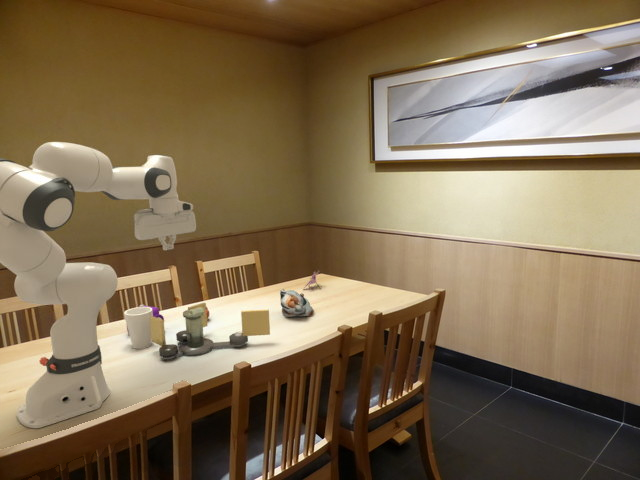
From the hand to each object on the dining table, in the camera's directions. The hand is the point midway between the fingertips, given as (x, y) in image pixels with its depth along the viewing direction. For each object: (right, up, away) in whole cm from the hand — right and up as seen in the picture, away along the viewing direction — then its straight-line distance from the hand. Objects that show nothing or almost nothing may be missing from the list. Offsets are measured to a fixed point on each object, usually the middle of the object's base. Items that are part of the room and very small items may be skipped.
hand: (168, 249), depth 148 cm
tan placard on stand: (+24, -33, +15) cm, 43 cm away
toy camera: (-18, -33, +30) cm, 48 cm away
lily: (+45, -22, +84) cm, 98 cm away
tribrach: (+5, -35, +13) cm, 38 cm away
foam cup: (-16, -35, +18) cm, 42 cm away
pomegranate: (-1, -31, +41) cm, 51 cm away
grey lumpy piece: (+39, -29, +45) cm, 66 cm away
